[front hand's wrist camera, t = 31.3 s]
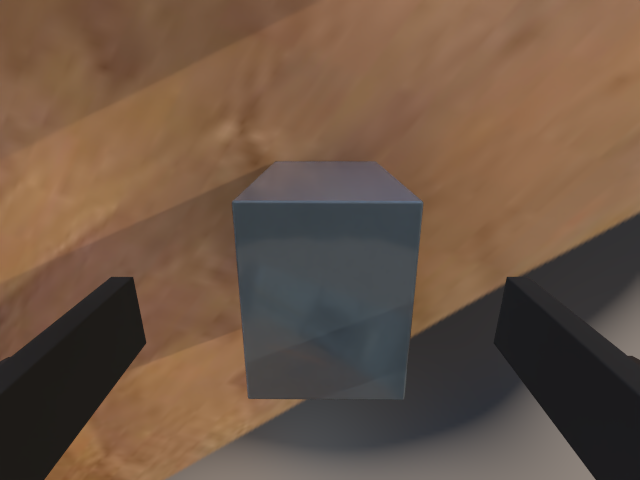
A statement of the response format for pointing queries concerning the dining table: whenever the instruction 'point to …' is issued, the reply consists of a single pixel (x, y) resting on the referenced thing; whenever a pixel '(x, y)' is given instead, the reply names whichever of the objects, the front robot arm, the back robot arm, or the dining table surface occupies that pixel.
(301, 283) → the block
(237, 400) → the dining table surface
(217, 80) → the dining table surface
